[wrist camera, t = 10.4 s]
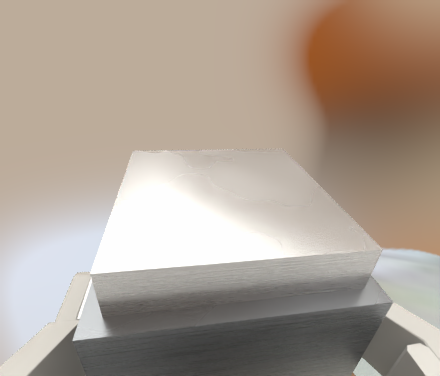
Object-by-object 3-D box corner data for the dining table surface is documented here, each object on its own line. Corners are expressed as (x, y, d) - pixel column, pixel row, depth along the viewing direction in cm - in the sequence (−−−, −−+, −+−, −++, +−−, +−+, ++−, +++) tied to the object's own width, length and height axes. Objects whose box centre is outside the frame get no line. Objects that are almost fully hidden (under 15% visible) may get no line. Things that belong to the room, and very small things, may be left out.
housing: (298, 467, 9) (416, 262, 4) (137, 501, 8) (54, 297, 3) (255, 322, 14) (289, 144, 9) (150, 334, 13) (123, 146, 8)
